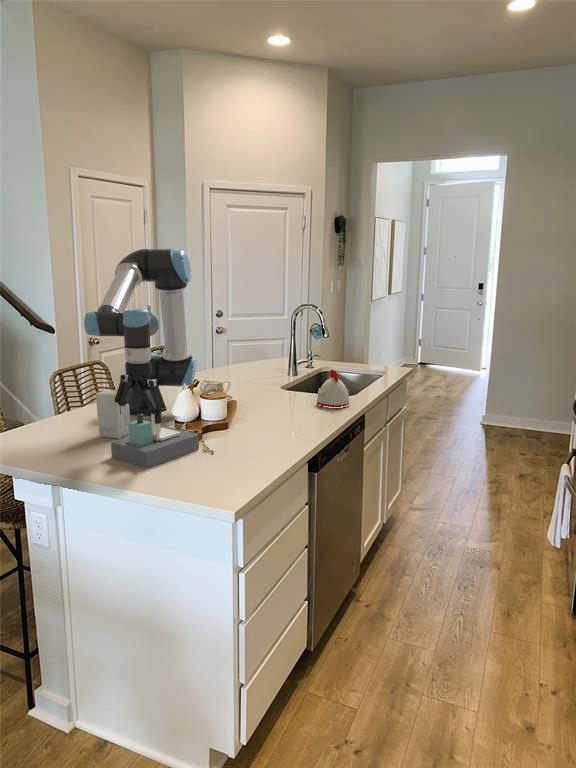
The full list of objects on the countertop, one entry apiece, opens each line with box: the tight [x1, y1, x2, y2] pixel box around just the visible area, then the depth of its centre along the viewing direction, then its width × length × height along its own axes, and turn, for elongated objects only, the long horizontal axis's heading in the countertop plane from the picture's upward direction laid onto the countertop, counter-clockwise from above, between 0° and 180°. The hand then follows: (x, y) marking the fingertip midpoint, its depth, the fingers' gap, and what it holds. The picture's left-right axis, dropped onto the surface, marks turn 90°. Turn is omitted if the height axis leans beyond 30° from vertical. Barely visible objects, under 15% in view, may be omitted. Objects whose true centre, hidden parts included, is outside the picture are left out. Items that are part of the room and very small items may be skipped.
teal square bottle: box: [128, 414, 153, 448], centre depth 179 cm, size 5×5×12 cm
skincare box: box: [95, 389, 129, 440], centre depth 201 cm, size 8×7×16 cm
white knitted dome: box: [316, 369, 350, 407], centre depth 249 cm, size 14×14×15 cm
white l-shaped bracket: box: [153, 428, 181, 441], centre depth 186 cm, size 8×9×3 cm
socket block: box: [110, 425, 200, 469], centre depth 185 cm, size 16×22×5 cm
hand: (140, 429), depth 179 cm, fingers open, 13 cm apart
